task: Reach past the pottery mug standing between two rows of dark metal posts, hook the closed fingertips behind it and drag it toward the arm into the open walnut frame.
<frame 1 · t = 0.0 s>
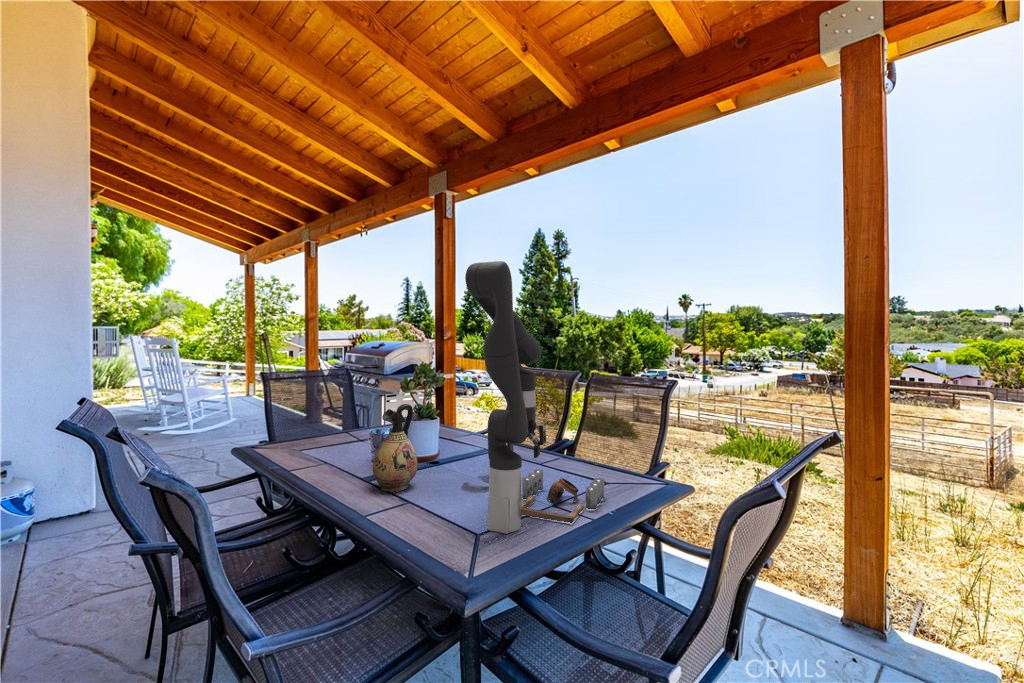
hand: (523, 455, 139), 17 cm above the table, tool pointing down, fingers open, 8 cm apart
walnut frame: (551, 511, 139), on the table
ceramic jug: (397, 488, 159), on the table
pottery mug: (560, 502, 148), on the table
metal posts: (563, 499, 150), on the table
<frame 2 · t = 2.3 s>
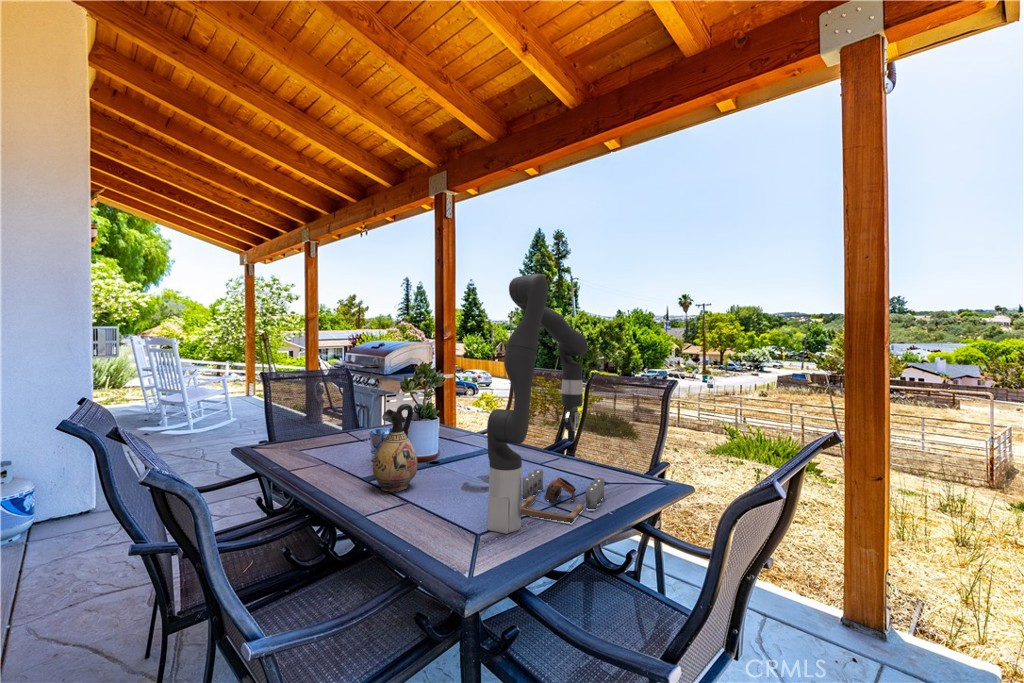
hand: (571, 441, 158), 18 cm above the table, tool pointing down, fingers closed
pottery mug: (558, 501, 149), on the table
everything else where it was.
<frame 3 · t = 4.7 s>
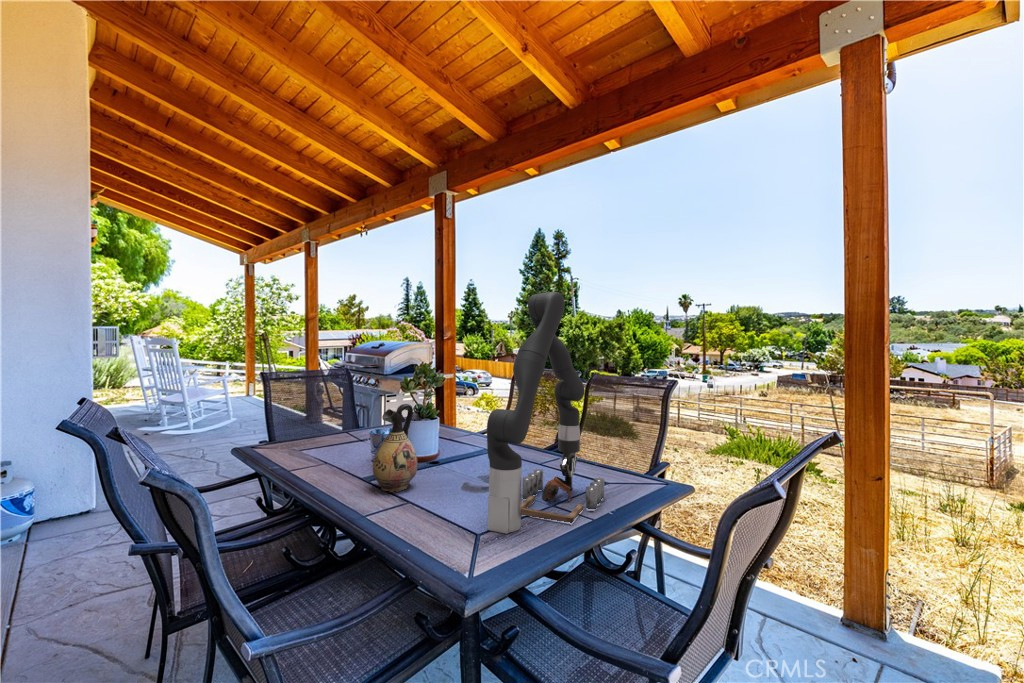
hand: (568, 486, 155), 3 cm above the table, tool pointing down, fingers closed
pottery mug: (555, 500, 149), on the table, touching gripper
everything else where it was.
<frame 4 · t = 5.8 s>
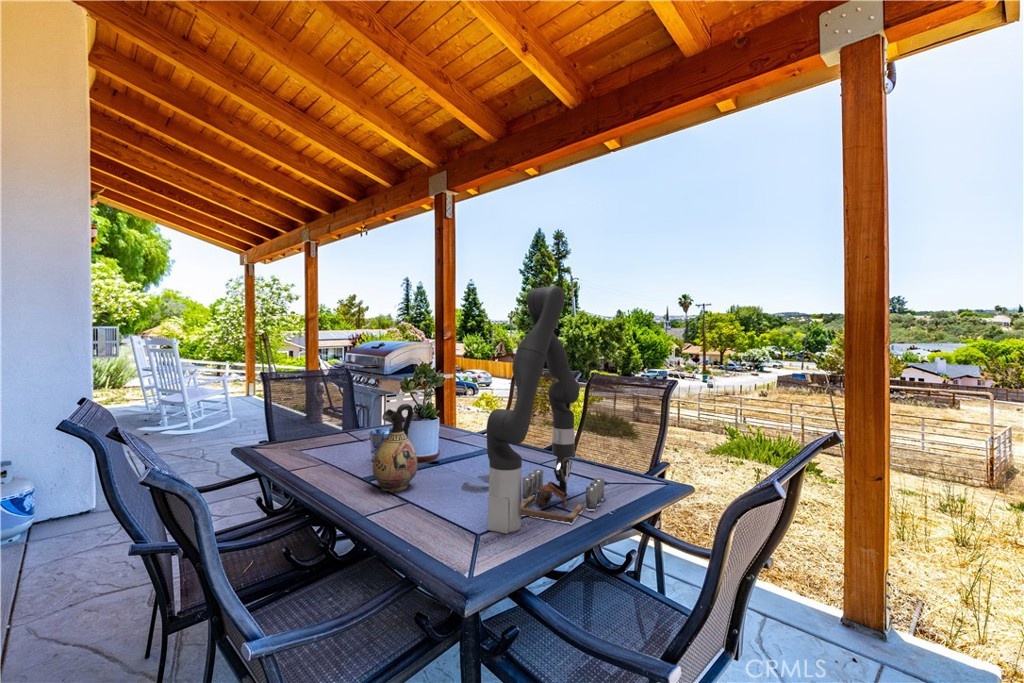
hand: (563, 492, 150), 3 cm above the table, tool pointing down, fingers closed
pottery mug: (549, 506, 143), on the table, touching gripper
everything else where it was.
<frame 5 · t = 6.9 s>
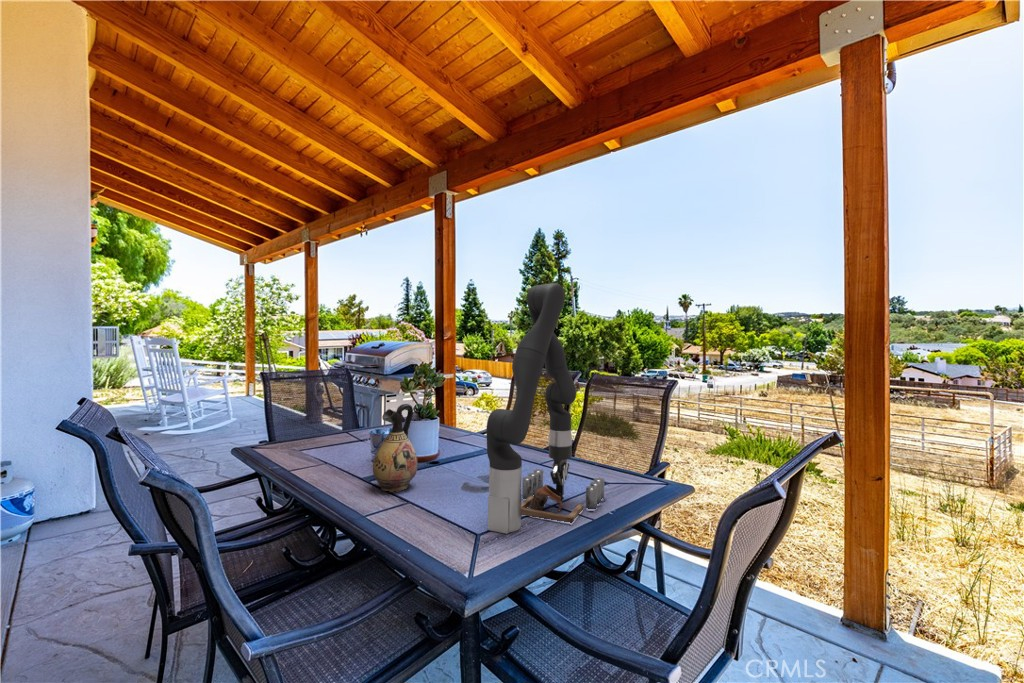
hand: (559, 495, 146), 3 cm above the table, tool pointing down, fingers closed
pottery mug: (545, 510, 140), on the table, touching gripper
everything else where it was.
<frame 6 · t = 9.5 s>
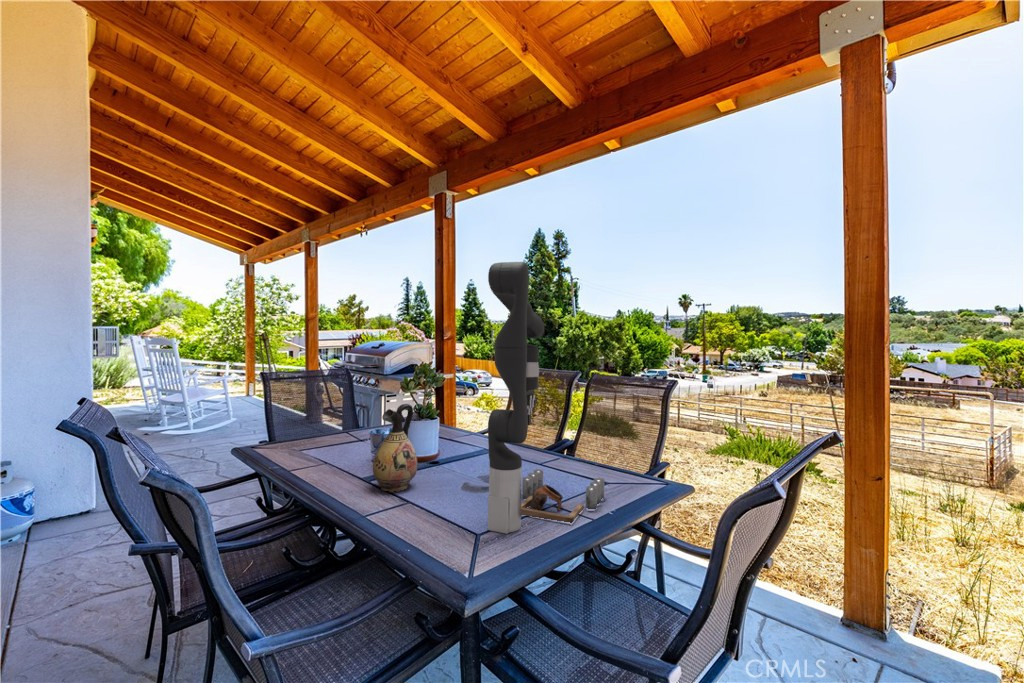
hand: (527, 425, 154), 24 cm above the table, tool pointing down, fingers closed
pottery mug: (544, 510, 141), on the table
everything else where it was.
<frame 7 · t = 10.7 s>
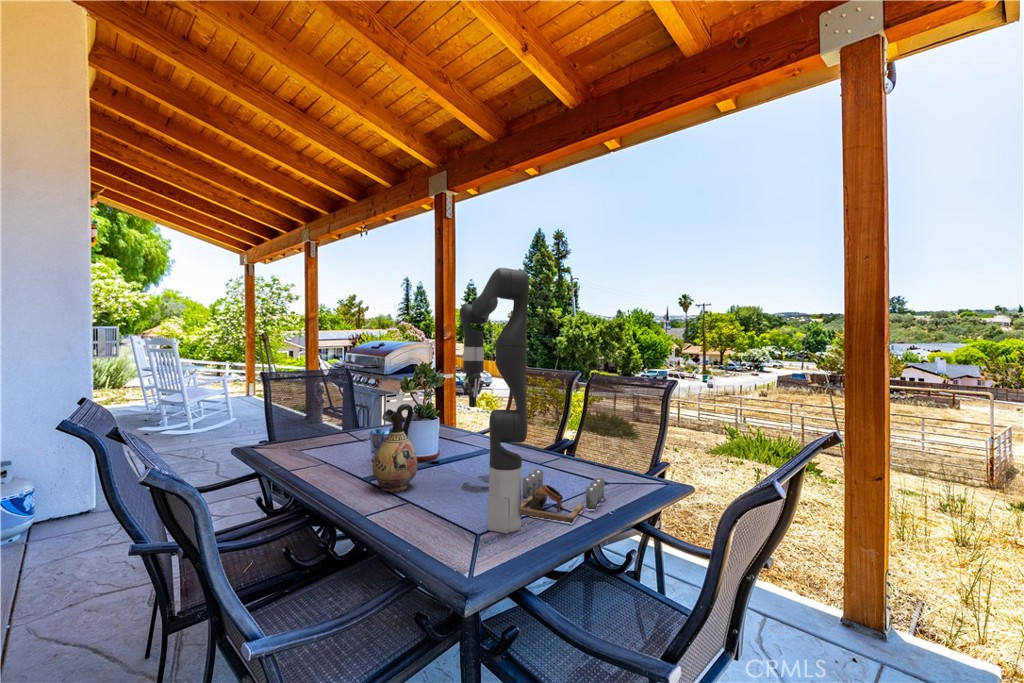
hand: (472, 407, 161), 29 cm above the table, tool pointing down, fingers closed
nothing on the table moved.
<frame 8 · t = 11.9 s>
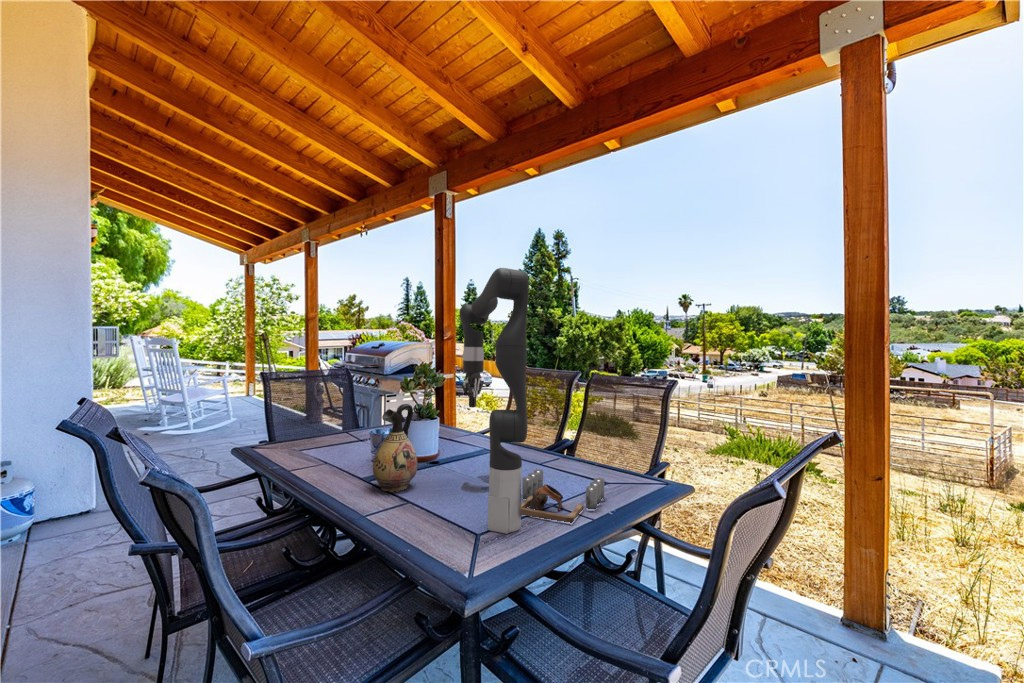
hand: (472, 407, 161), 29 cm above the table, tool pointing down, fingers closed
nothing on the table moved.
at the end: pottery mug inside the target area (3.3 cm from its centre), on the table; pottery mug tilted 1°; pottery mug moved 9.3 cm from its start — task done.
